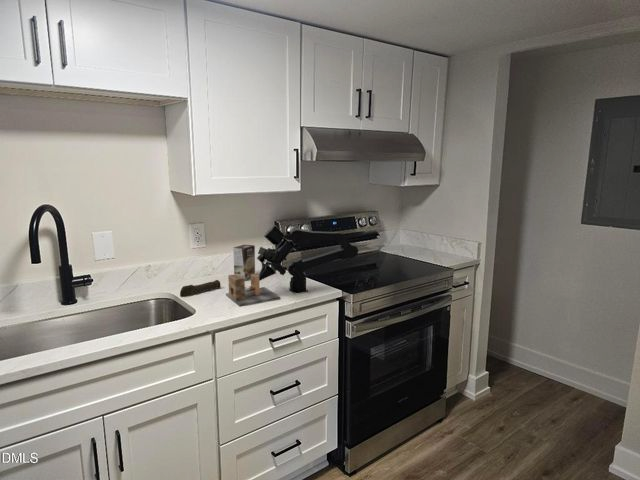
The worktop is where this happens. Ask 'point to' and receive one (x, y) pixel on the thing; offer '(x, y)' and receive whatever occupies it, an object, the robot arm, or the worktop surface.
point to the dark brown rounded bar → (199, 288)
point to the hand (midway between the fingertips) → (258, 279)
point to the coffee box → (244, 261)
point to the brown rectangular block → (254, 285)
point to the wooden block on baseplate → (247, 298)
